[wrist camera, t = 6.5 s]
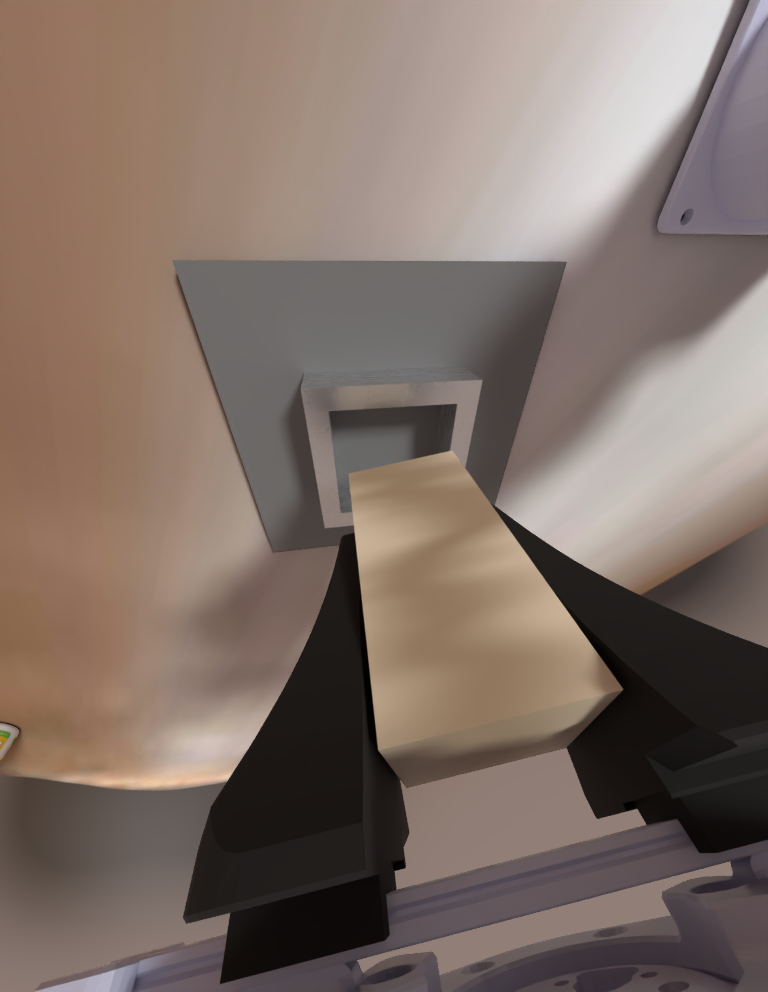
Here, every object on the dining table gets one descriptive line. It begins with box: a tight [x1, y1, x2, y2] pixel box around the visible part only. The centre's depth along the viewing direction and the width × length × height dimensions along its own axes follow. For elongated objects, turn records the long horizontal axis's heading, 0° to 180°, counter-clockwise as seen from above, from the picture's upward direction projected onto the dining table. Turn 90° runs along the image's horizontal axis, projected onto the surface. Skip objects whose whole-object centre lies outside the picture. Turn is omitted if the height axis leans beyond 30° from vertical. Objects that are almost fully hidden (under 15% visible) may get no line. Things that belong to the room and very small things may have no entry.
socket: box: [301, 366, 483, 528], centre depth 16 cm, size 8×8×2 cm
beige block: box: [348, 450, 623, 788], centre depth 9 cm, size 4×4×8 cm
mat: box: [173, 260, 566, 552], centre depth 17 cm, size 16×16×1 cm
